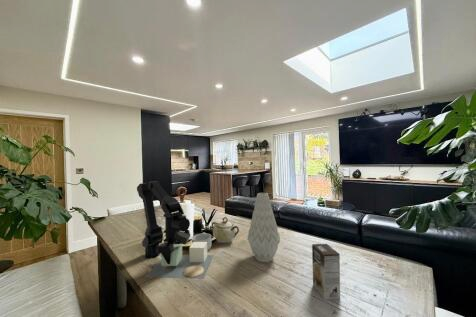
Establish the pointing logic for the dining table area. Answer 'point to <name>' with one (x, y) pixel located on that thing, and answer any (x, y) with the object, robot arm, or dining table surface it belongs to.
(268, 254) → the vase
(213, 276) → the dining table surface
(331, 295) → the coffee box
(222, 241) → the sugar bowl
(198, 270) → the tan flat disc
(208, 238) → the teacup
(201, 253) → the ivory cube
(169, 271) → the slate board
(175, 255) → the frosted jade cube
